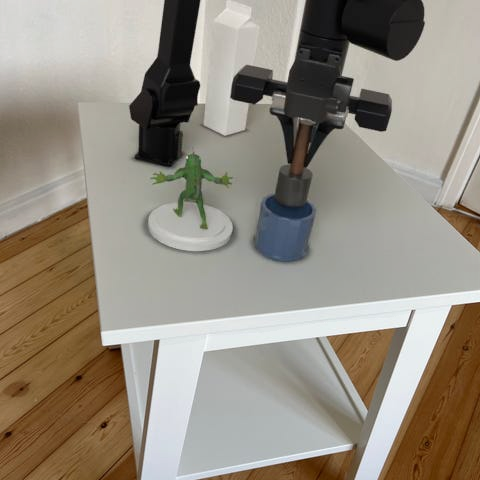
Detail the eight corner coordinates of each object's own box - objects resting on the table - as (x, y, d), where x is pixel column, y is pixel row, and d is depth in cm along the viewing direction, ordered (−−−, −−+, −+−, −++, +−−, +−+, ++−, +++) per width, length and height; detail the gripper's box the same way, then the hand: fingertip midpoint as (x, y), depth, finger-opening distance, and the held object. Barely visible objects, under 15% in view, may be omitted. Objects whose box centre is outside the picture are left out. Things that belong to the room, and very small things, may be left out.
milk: (224, 136, 107) (240, 8, 93) (202, 125, 109) (214, -1, 95) (245, 130, 111) (263, 6, 96) (223, 119, 113) (237, -3, 99)
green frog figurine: (225, 208, 85) (233, 144, 79) (238, 252, 76) (249, 183, 70) (146, 205, 83) (148, 138, 76) (150, 250, 74) (152, 179, 67)
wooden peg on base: (271, 202, 73) (286, 124, 67) (277, 188, 77) (291, 113, 70) (304, 210, 73) (322, 132, 66) (308, 195, 76) (326, 120, 70)
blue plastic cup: (249, 254, 76) (256, 212, 72) (260, 228, 82) (267, 188, 78) (302, 266, 76) (312, 225, 72) (308, 239, 81) (318, 200, 77)
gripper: (227, 31, 56) (211, 174, 66) (410, 68, 55) (366, 209, 65) (249, 11, 65) (233, 140, 75) (408, 43, 63) (369, 171, 73)
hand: (297, 164), depth 72 cm, fingers closed on wooden peg on base, 2 cm apart
